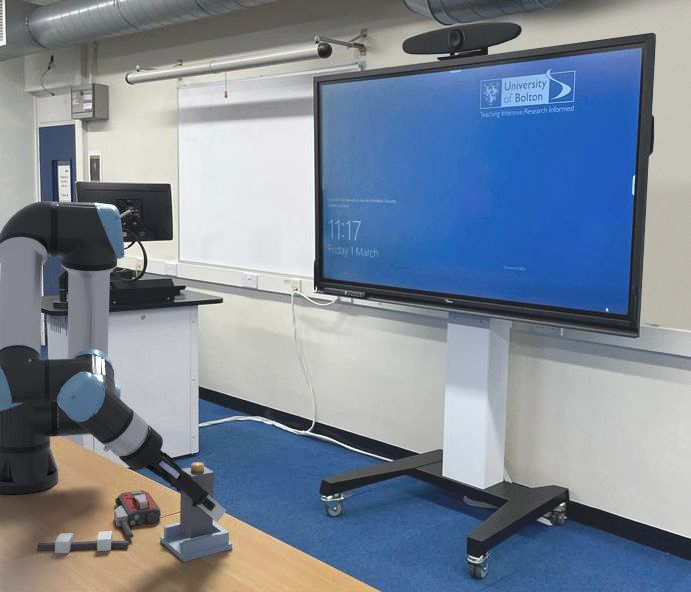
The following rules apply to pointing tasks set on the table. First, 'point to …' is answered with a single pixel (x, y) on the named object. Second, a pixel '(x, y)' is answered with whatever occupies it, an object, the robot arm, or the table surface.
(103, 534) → the cable run
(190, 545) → the tray
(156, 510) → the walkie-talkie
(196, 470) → the grey post with ball
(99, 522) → the table surface
